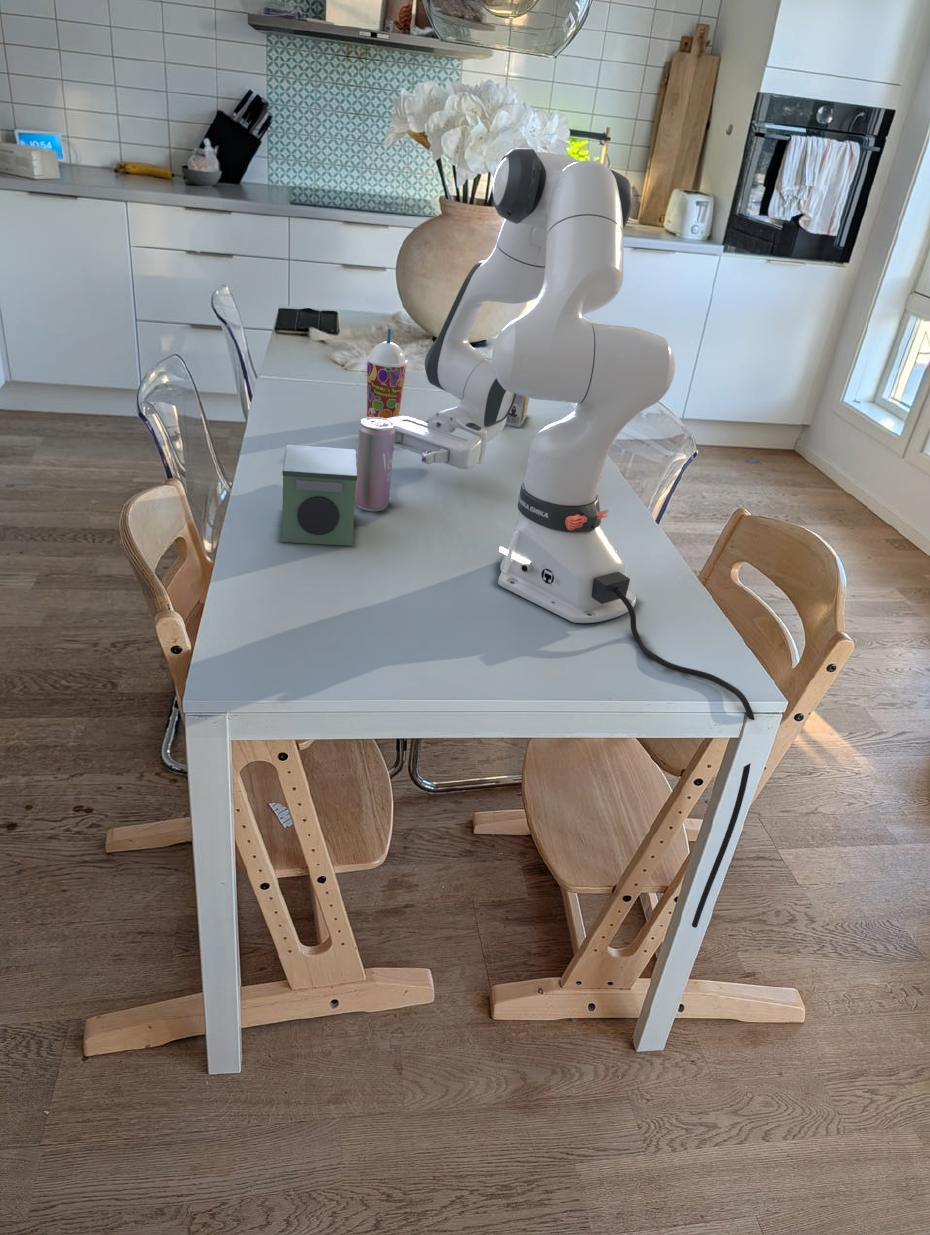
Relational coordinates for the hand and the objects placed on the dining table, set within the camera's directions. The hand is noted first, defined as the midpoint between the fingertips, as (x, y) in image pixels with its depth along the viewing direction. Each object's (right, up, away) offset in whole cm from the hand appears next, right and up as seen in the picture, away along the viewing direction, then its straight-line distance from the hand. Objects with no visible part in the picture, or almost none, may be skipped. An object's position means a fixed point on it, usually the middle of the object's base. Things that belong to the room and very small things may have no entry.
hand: (403, 451), depth 161 cm
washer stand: (-13, -15, -12) cm, 23 cm away
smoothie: (-7, +12, +36) cm, 38 cm away
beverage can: (-6, -10, -2) cm, 12 cm away
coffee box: (+21, +16, +48) cm, 55 cm away
